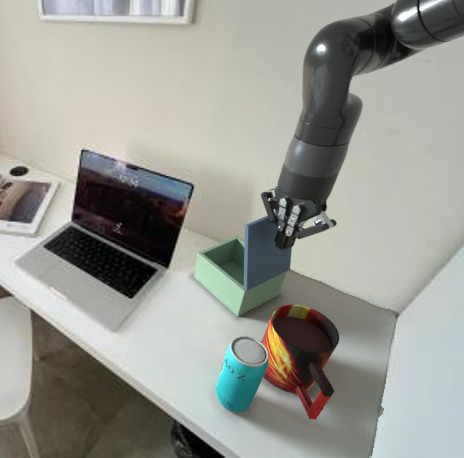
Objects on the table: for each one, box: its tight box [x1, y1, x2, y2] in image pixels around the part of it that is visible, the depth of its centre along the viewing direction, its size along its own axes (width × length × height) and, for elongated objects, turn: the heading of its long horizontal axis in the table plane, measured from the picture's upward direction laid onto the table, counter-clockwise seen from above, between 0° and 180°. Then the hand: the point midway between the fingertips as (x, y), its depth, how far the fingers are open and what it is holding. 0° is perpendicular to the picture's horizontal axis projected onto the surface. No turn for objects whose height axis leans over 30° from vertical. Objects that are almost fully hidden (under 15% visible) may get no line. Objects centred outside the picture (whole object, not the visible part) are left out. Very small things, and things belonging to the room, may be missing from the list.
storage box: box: [193, 235, 288, 317], centre depth 80 cm, size 14×12×8 cm
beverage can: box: [215, 335, 269, 414], centre depth 58 cm, size 6×6×15 cm
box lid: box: [244, 211, 293, 291], centre depth 69 cm, size 14×12×1 cm
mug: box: [260, 303, 340, 420], centre depth 61 cm, size 10×14×12 cm
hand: (282, 246), depth 66 cm, fingers closed
